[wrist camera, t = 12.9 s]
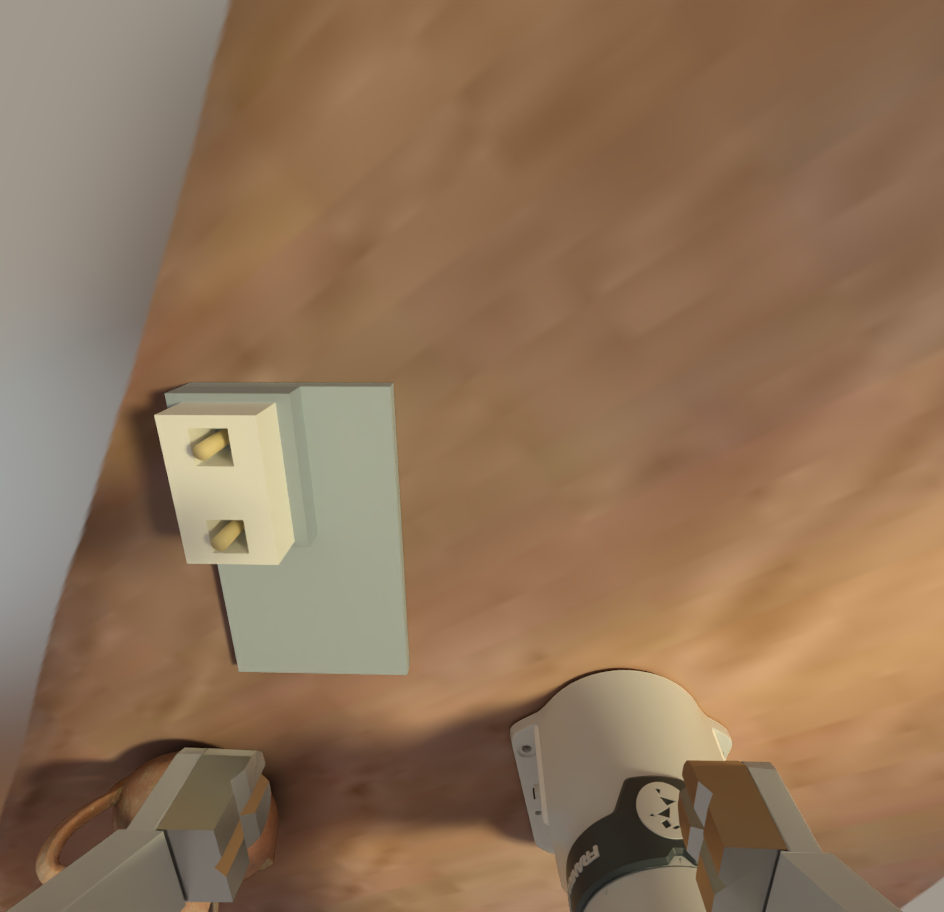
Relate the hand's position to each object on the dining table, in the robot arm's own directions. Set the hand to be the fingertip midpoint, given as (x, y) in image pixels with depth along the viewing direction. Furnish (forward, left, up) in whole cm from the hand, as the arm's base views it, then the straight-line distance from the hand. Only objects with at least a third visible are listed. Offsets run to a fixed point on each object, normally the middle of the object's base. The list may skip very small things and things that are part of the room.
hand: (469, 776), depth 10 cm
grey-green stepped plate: (-10, +13, -28) cm, 32 cm away
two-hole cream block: (-4, +16, -25) cm, 30 cm away
